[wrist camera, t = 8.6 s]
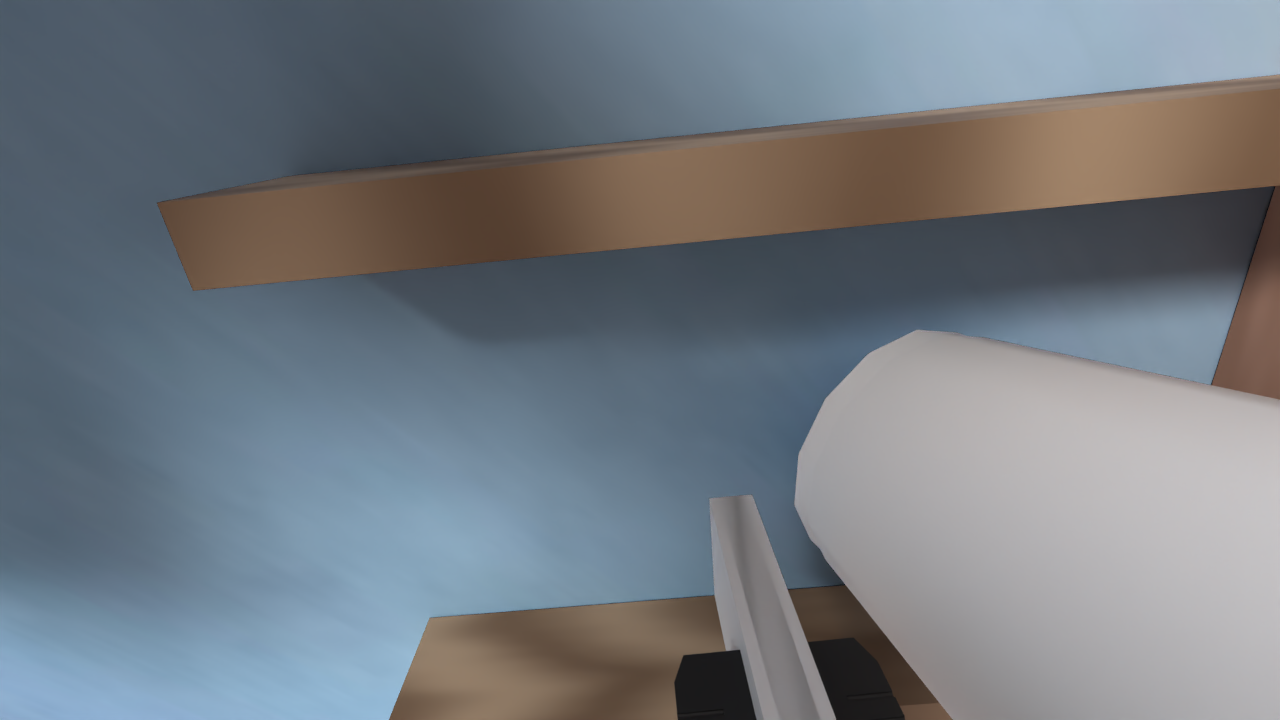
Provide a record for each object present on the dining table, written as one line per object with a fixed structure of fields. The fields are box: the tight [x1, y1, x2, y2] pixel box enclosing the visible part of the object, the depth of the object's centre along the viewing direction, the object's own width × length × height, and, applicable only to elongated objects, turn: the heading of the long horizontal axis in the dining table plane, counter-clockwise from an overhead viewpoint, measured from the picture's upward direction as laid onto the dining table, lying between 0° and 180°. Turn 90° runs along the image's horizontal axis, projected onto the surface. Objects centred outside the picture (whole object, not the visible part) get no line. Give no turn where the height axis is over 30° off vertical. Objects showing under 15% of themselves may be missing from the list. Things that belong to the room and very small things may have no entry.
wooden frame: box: [157, 75, 1280, 720], centre depth 14 cm, size 24×15×5 cm, turn 95°
